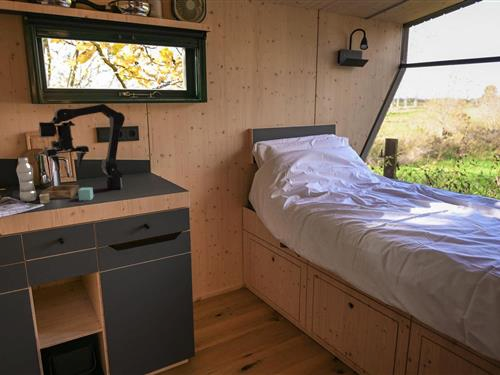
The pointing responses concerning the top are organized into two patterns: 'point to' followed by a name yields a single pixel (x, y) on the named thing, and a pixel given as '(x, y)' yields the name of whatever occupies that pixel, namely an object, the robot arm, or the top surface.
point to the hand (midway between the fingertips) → (69, 168)
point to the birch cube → (44, 198)
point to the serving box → (61, 191)
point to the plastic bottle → (26, 180)
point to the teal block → (85, 193)
